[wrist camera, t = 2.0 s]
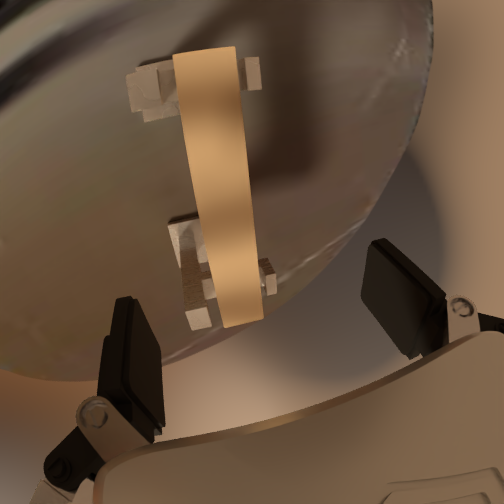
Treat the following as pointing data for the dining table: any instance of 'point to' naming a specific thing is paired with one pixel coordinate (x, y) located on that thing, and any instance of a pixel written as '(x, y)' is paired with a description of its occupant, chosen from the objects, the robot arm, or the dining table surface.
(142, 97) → the bracket near
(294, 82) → the dining table surface
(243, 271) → the rail
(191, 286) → the bracket far
